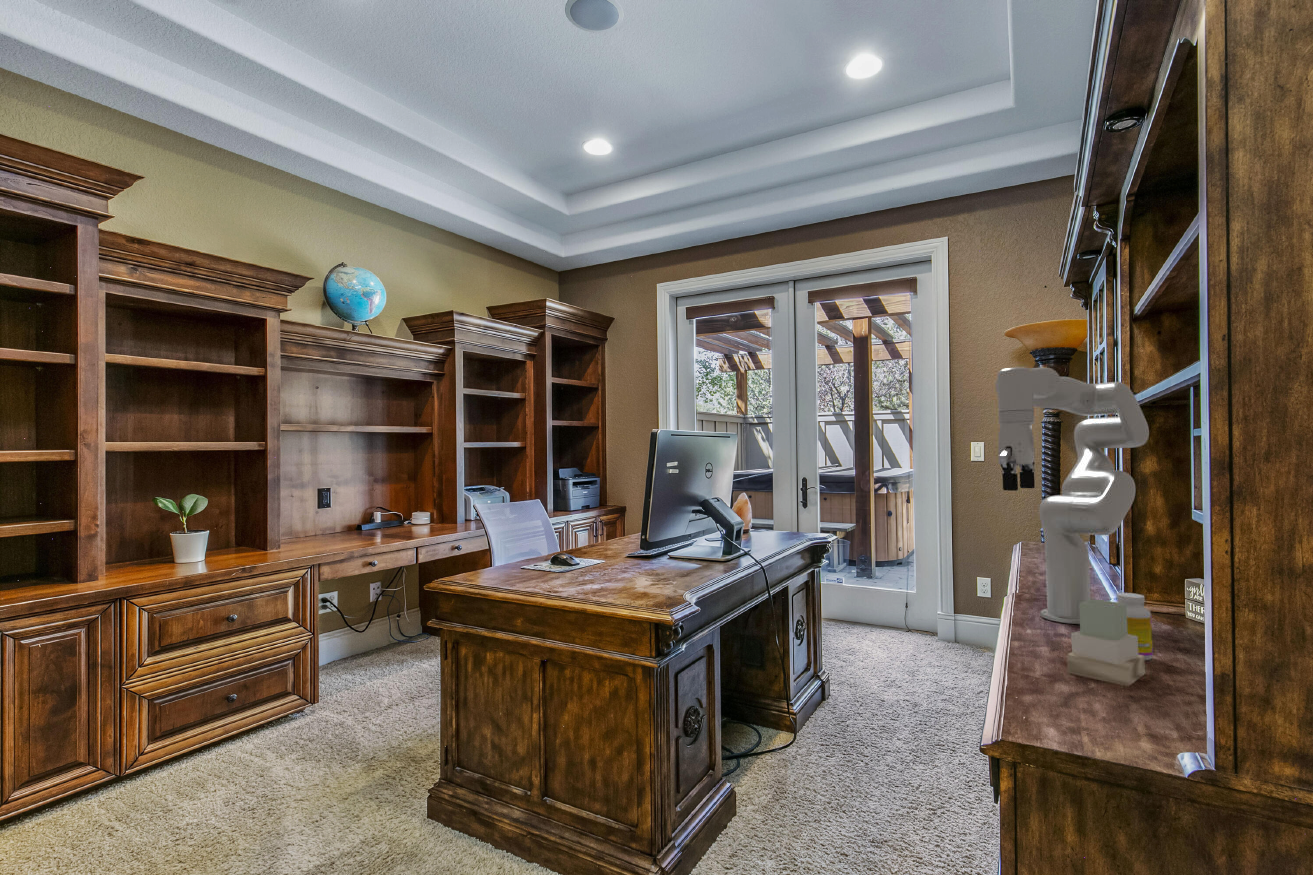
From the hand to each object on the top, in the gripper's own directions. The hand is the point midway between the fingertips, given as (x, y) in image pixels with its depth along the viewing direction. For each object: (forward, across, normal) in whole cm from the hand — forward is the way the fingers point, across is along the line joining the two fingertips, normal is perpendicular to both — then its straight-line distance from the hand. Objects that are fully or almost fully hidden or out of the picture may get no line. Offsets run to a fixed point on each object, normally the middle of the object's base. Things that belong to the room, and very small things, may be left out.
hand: (1019, 489), depth 157 cm
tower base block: (+35, +20, +22) cm, 46 cm away
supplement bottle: (+34, +4, +23) cm, 41 cm away
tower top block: (+31, +20, +22) cm, 43 cm away
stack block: (+27, +20, +22) cm, 40 cm away
